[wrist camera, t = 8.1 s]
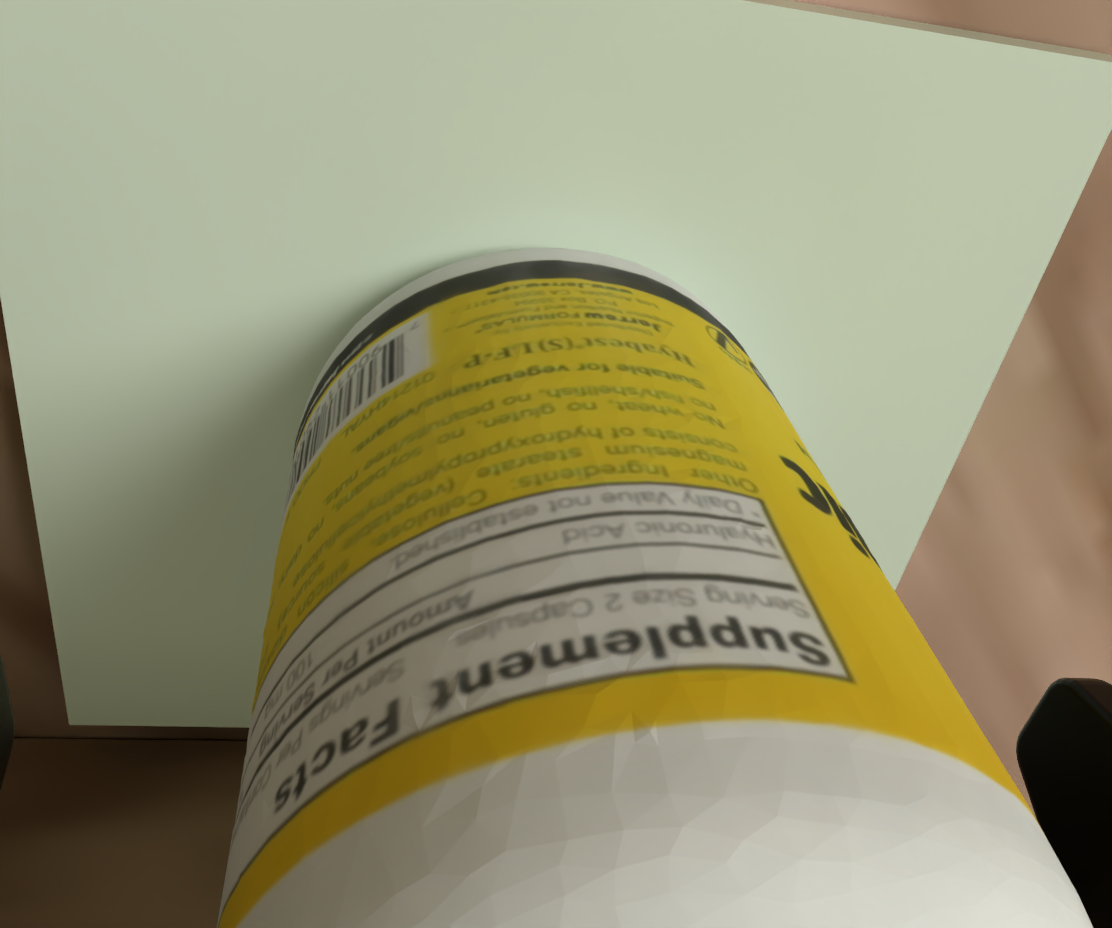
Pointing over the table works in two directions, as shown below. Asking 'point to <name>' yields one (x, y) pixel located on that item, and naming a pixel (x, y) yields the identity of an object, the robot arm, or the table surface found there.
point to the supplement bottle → (597, 645)
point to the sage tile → (479, 252)
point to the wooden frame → (117, 832)
